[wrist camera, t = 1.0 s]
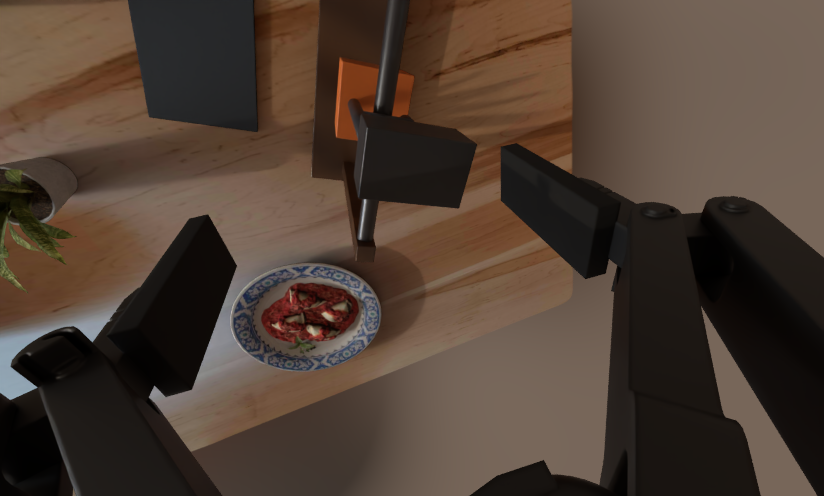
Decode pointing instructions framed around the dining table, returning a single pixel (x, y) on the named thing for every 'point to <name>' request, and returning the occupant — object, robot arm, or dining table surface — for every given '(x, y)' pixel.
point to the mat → (198, 60)
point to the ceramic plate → (305, 317)
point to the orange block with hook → (398, 144)
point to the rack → (337, 37)
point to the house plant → (33, 205)
